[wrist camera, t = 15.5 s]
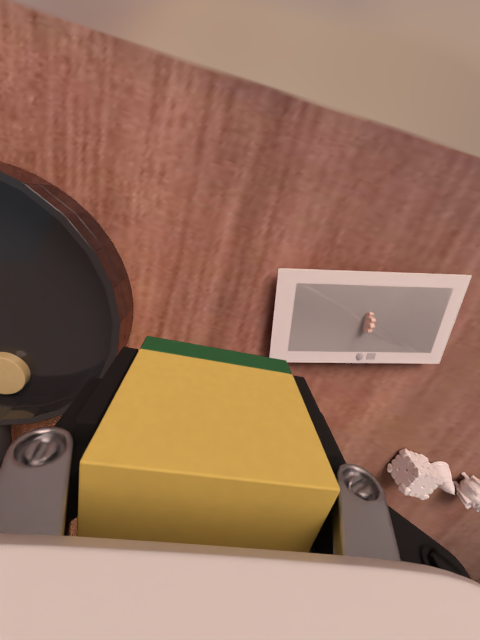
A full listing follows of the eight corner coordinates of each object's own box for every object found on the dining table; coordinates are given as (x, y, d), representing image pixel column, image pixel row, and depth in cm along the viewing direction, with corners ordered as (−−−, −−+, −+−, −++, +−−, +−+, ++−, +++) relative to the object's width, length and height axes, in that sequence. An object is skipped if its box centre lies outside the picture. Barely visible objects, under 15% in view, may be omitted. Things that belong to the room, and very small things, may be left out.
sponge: (146, 334, 11) (78, 461, 5) (286, 359, 11) (341, 490, 6) (135, 418, 12) (73, 581, 7) (261, 435, 13) (288, 591, 8)
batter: (-20, 348, 22) (-28, 353, 21) (29, 355, 22) (23, 360, 22) (-15, 385, 23) (-22, 391, 23) (32, 391, 24) (26, 397, 23)
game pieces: (383, 466, 31) (401, 494, 28) (402, 445, 30) (422, 472, 27) (464, 492, 34) (487, 520, 31) (483, 473, 33) (510, 500, 30)
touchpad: (275, 264, 22) (281, 271, 20) (460, 271, 23) (483, 278, 21) (266, 355, 25) (271, 369, 23) (430, 357, 26) (448, 370, 24)
